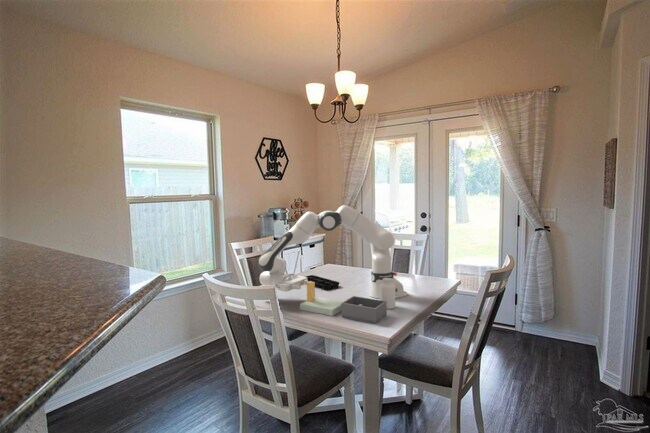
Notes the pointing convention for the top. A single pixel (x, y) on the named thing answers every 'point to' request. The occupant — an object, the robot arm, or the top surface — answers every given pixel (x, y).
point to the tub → (363, 309)
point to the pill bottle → (388, 292)
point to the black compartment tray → (323, 282)
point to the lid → (319, 303)
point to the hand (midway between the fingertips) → (305, 285)
